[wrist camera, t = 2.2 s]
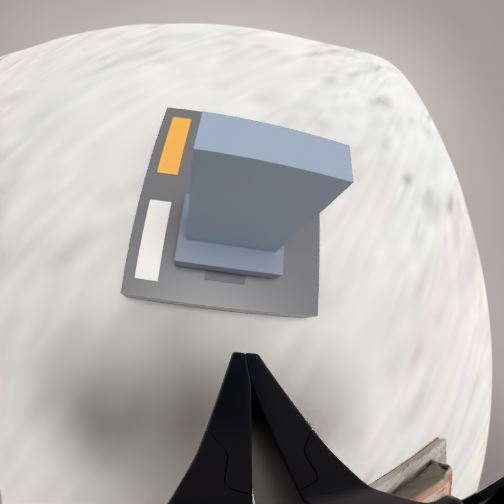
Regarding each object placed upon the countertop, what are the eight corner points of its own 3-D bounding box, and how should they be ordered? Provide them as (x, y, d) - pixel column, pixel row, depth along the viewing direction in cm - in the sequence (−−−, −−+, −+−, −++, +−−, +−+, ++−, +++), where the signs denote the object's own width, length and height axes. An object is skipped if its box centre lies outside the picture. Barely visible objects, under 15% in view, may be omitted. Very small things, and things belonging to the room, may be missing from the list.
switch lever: (276, 278, 17) (369, 221, 8) (175, 265, 16) (167, 183, 7) (279, 217, 19) (356, 123, 10) (185, 202, 17) (194, 84, 8)
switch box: (305, 317, 20) (318, 316, 18) (127, 297, 17) (120, 292, 15) (307, 149, 24) (317, 135, 22) (167, 123, 21) (167, 106, 19)
